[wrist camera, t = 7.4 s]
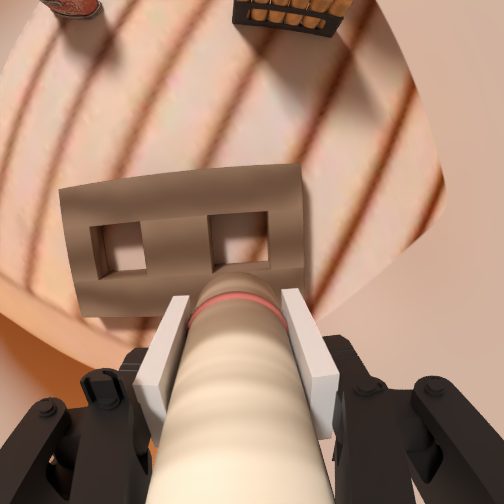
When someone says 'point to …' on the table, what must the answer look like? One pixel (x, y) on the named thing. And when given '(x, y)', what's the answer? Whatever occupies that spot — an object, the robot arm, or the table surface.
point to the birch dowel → (238, 408)
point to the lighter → (74, 8)
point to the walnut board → (180, 234)
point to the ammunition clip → (292, 14)
